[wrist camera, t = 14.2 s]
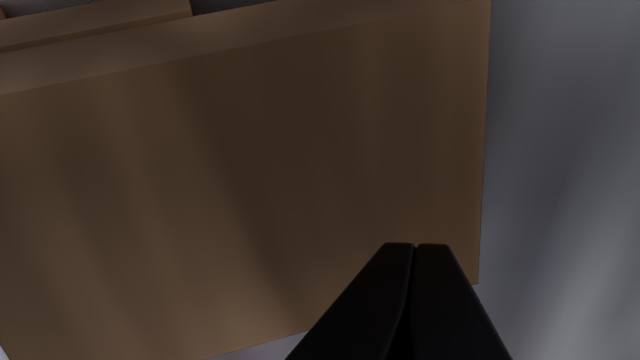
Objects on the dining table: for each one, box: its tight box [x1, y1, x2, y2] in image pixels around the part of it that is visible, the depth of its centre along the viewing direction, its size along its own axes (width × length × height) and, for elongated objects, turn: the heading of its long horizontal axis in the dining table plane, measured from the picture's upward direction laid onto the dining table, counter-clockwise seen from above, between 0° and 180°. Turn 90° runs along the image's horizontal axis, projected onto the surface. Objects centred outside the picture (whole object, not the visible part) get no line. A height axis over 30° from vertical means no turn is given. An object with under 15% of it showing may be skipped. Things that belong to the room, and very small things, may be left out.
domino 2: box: [0, 0, 492, 360], centre depth 10 cm, size 2×6×8 cm
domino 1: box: [0, 0, 194, 53], centre depth 11 cm, size 2×6×8 cm
